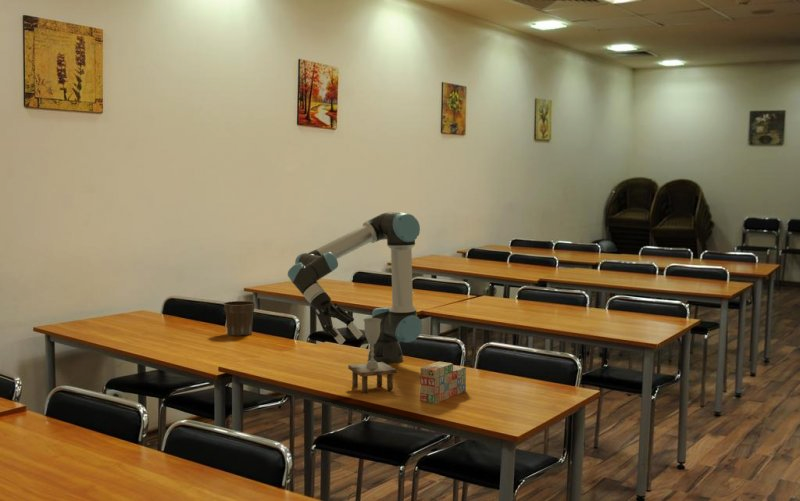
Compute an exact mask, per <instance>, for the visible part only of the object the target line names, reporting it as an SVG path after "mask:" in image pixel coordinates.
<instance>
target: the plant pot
mask: <svg viewBox="0 0 800 501" xmlns="http://www.w3.org/2000/svg"><path fill="white" fill-rule="evenodd" d="M255 305H256V302H255V301H252V300H251V301H248V300H234V301H233V300H232V301H226V302H223V307H224V308H223V309H224V312H225V318H226V322H225V323H226V332H227V335H228V336H233V337H234V336H235V337H240V336H250V335H251V334H252V332H253V319H254V311H255Z"/></svg>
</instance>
